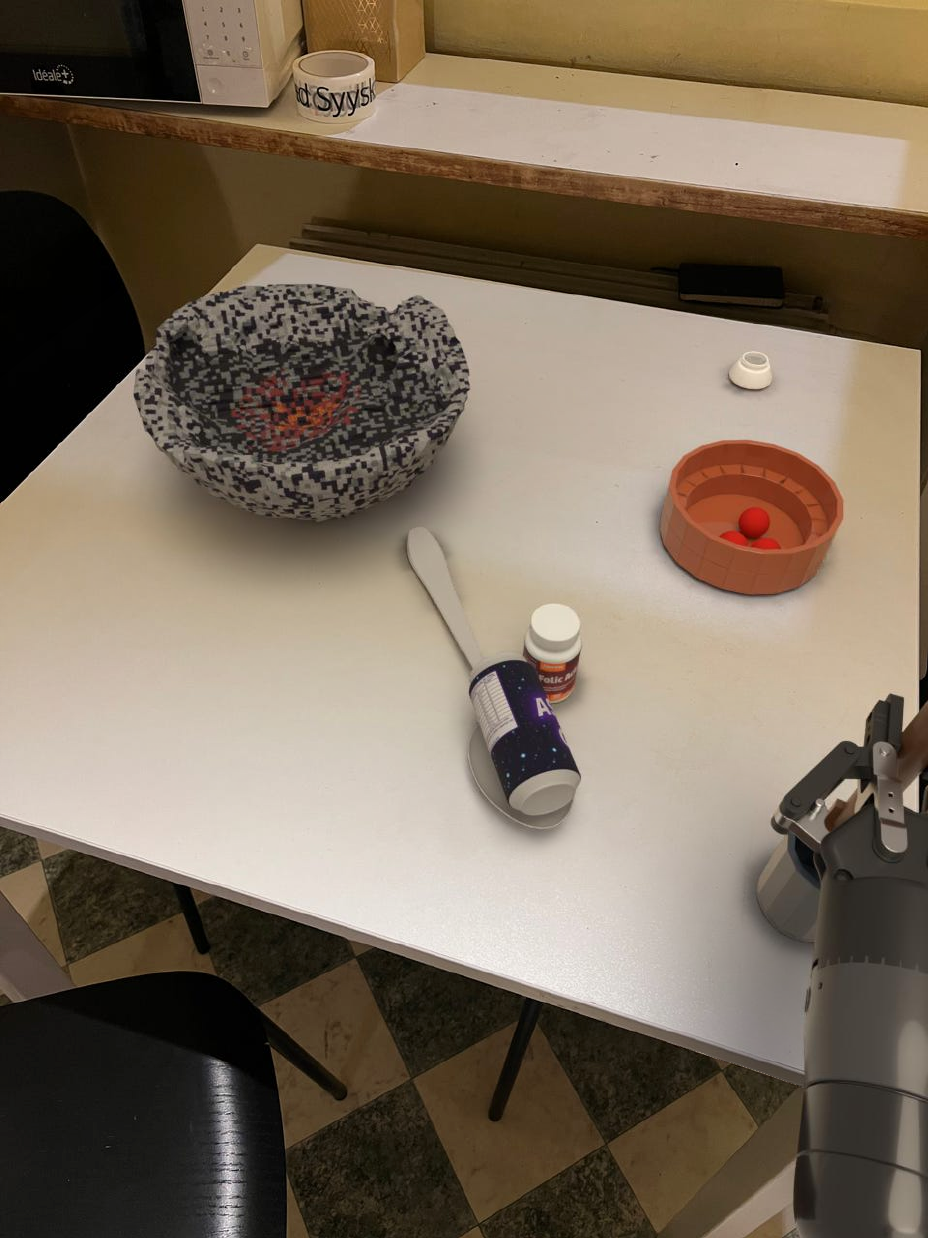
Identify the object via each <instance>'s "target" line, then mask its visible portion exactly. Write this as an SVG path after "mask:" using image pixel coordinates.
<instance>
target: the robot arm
mask: <svg viewBox="0 0 928 1238" xmlns="http://www.w3.org/2000/svg"><path fill="white" fill-rule="evenodd" d="M904 710H905V697H904V696H902V695H898V694H894V693H892V692H891V693H888V695H887V696H886V697H885V700H883V699H878V700H877V702H876V704H875V705H874V706H873V708H872V709H871V711H870V712H869V714H868V715H867V717H866V718H865V726H864V727H865V728H864V737H863V746H859V745H857V744H856V743H855V742H853V741H851V740H842V741H840V742H839V743H838V744H837V745H836V746H834V748H833V749H832V750H831V751H830V752H829V753H828V754H827V755H826V756H824V757H823V758H822V759H821V760H820V761H819V762H818V763H817V764H816V765H815V766H814V767H813V768H812V769H811V770H810V771H809V772H808V773H806V774H805V776H803V777H802V778H801V780H799V781H798V782H797V783H796V784H795V785H794V786H793V787H792V788H791V789H790V790H789V791H788V792H787V793H786V794H784V797H783V798H782V799H781V801H780V803H779V804H778V806H777V808H776V810H775V811H774V813H773V815H772V817H771V819H770V826H771V827H772V829H773V830H774V832H776V833H777V834H779V835H783V836H785V835H788V834H790V833H793V834H794V835H795V836H797V837H798V838H799V839H800V840H801V841H803V842H804V843H805V844H806V845H807V846H808V847H810V848H811V849H812V850H813V851H814V864H815V867H816V869H817V871H818V874H819V877H820V881H821V891H820V898H819V907H818V915H817V924H816V933H815V941H814V942H813V951H812V959H811V970H810V978H809V985H808V988H807V989H806V993H805V1001H804V1008H803V1010H804V1014H805V1018H804V1019H805V1021H804V1029H803V1061H804V1062H803V1067H804V1069H803V1070H804V1075H803V1097H802V1106H801V1113H800V1114H801V1115H800V1122H799V1123H800V1124H799V1132H798V1140H797V1151H796V1160H795V1165H794V1166H795V1167H794V1176H793V1189H792V1191H793V1192H792V1193H793V1195H792V1209H793V1219H794V1224H795V1228H796V1232H797V1233H798V1236H799V1238H928V785H926V787H925V788H924V792H923V800H922V806H921V812H919V811H915V810H912V809H911V808H909V807H907V806H906V805H904V792H903V788H902V781H901V780H898V768H897V752H898V750H899V749H900V748H901V745H902V741H901V734H902V732H903V726H904ZM922 779H923V780H926V781H928V766H927V767H926V768H925V769H924V770H923V771H922ZM845 780H857V783H856V784H857V788H858V797H857V801H856V804H855V814H854V815H852V816H851V817H850V818H848V819H847V820H845V821H844V822H843V823H841V824H840V825H839V826H837V827H836V828H835V829H833V830H832V831H831V832H829V831H828V830H827V828H826V827H825V824H824V821H825V818H826V816H827V814H828V810H829V809H828V808H827V807H828V806H827V805H826V802H825V801H826V799H827V798H828V797H829V796H831V794H832V793H833V792H834V791H835V790H836V789H837V788H838V787H839V786H840V785H842V784H843V782H844V781H845Z"/></svg>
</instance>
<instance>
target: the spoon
mask: <svg viewBox="0 0 928 1238" xmlns="http://www.w3.org/2000/svg"><path fill="white" fill-rule="evenodd" d="M406 554H407V558H408V562H409V564H410V566H411V567H412V569H413V571H414V572H415V574H416V575H417V577H418V578H419V579H420V581H421V583H422V584H423V586H424V587H425V589H426V590H427V592H428V593H429V595H430V597H431V599H432V600H433V602H434V604H435V605H436V607H437V609H438V611H439V613H440V615H441V616H442V618H443V620H444V621H445V623H446V625H447V627H448V629H449V631H450V633H451V634H452V636H453V638H454V640H455V641H456V643H457V645H458V646H459V648H460V651H461V652H462V653H463V655H464V657H465V658H466V660H467V662H468V664H469V665H470V667H471V669H473V668H474V667H475V666H476V665H477V664H478V663H479V662H480V661H482V660H483V659H484V657H483V655H482V653H481V649H480V647H479V645H478V643H477V640H476V637H475V636H474V635H475V634H474V632H473V630H472V628H471V625H470V623H469V620H468V618H467V615H466V613H465V611H464V608H463V605H462V603H461V600H460V598H459V596H458V593H457V591H456V588H455V585H454V583H453V580H452V577H451V574H450V571H449V565H448V563H447V559H446V556H445V554H444V551H443V549H442V547H441V545H440V544H439V542H438V541H437V539H436V538H435V536H434V535H433V534H432V532H431V531H430V530H429V529H428V528H426V527H424V526H414V527H412V528H411V529H410V530H409V532H408V534H407V537H406ZM467 758H468V763H469V768H470V770H471V773H472V776H473V779H474V781H475V783H476V785H477V787H478V789H479V790H480V792H481V793H483V795H484V797H486V799H487V800H488V801H489V803H491V804H492V805H493V806H494V807H495V808H496V809H498V810H499V812H501V813H502V814H504V815H505V816H506V817H508V818H509V819H511V820H513V821H514V822H516V823H518V824H520V825H522V826H525V827H527V828H529V829H530V828H531V829H534V830H548V829H552V828H555V827H557V826H559V825H560V824H561V823H563V822H564V821H565V819H567V818H568V816H569V814H570V812H571V810H572V808H573V805H574V803H575V797H576V796H574V797H573V799H572V800H571V801H570V802H569V803H567V804H566V805H565V806H563V807H561V808H560V809H558V810H555V811H553V812H550V813H547V814H543V815H527V814H525V813H523V812H522V811H520V810H517V809H514V808H512V807H511V806H509V804H508V802H507V800H506V797H505V794H504V791H503V788H502V786H501V783H500V780H499V777H498V775H497V772H496V769H495V766H494V763H493V761H492V758H491V755H490V752H489V749H488V747H487V744H486V741H485V738H484V735H483V733H482V730H481V727H480V724H479V721H478V723H477V724H476V726H475V727H474V729H473V730H472V732H471V734H470V737H469V739H468V743H467Z"/></svg>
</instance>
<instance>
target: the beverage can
mask: <svg viewBox="0 0 928 1238" xmlns="http://www.w3.org/2000/svg"><path fill="white" fill-rule="evenodd" d="M471 669H472V668H471ZM468 682H469V687H468V696H469V699H470V701H471V705H472V707H473V711H474V714H475V716H476V718H477V721H478V722H479V724H480V727H481V730H482V733H483V735H484V738H485V741H486V744H487V747H488V749H489V752H490V755H491V758H492V761H493V763H494V766H495V769H496V772H497V775H498V777H499V780H500V783H501V786H502V788H503V791H504V794H505V797H506V800H507V802H508V804H509V806H511V807H512V808H514V809H517V810H520V811H522V812H523V813H525V814H527V815H543V814H547V813H550V812H553V811H555V810H558V809H560V808H561V807H563V806H565V805H566V804H567V803H569V802H570V801H571V800H572V799H573V797H574V796H575V795H576V793H577V789H578V787H579V786H580V783H581V781H582V775H581V772H580V770H579V767H578V765H577V763H576V761H575V758H574V756H573V754H572V751H571V749H570V747H569V744H568V742H567V739H566V737H565V735H564V732H563V730H562V728H561V726H560V723H559V720H558V717H557V716H556V714H555V711H554V709H553V707H552V703H550V702H549V700H548V697H547V695H546V693H545V690H544V688H543V686H542V683H541V681H540V679H539V676H538V674H537V672H536V669H535V668H534V667H533V666H532V665H531V664H530V663H528V662H527V661H526V659H525V657H524V656H523V654H521V653H518V652H514V651H503V652H498V653H494V654H492V655H489V656H487V657H485V658H483V660H482V661H480V662H479V663H478V664H477V665H476V666H475V667H474V668H473V669H472V670H471V671H470V673H469V677H468ZM575 797H576V796H575ZM575 797H574V798H575Z"/></svg>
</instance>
